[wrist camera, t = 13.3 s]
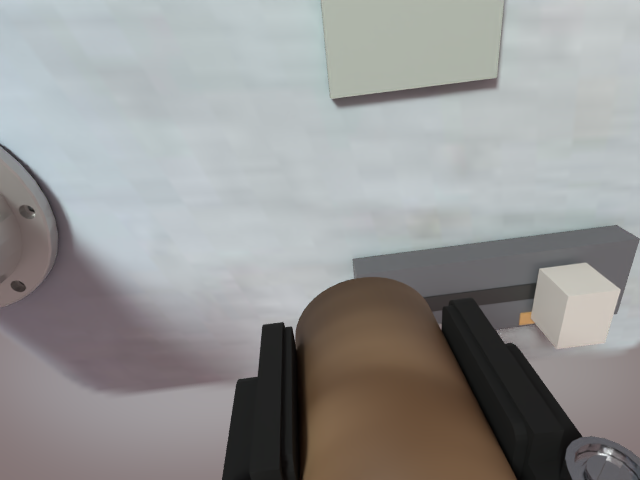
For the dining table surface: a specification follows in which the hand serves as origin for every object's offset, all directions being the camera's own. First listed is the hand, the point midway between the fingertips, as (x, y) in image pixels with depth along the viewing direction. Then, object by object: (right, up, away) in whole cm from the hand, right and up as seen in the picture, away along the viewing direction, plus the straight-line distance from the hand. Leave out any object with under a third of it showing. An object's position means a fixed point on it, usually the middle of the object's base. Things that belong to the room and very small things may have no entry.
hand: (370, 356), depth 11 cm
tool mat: (+3, +15, +9) cm, 18 cm away
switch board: (+10, 0, +18) cm, 20 cm away
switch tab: (+14, 0, +15) cm, 21 cm away
